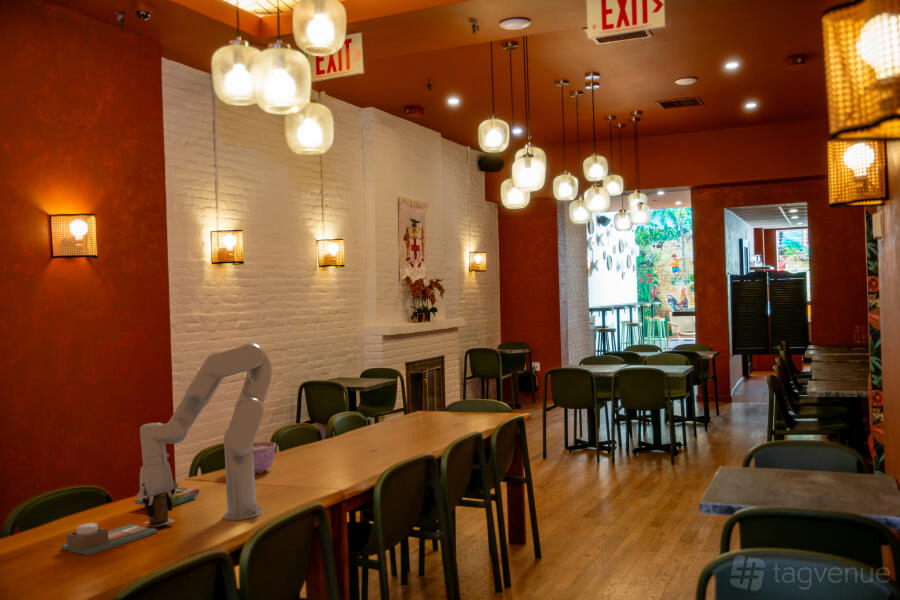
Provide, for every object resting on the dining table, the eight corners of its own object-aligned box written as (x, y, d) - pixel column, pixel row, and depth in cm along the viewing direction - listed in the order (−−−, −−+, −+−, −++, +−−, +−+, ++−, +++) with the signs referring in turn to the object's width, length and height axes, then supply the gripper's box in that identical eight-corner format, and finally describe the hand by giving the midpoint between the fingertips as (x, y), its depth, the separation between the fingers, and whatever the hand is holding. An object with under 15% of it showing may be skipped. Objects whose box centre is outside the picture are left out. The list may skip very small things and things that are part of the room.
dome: (102, 534, 237) (101, 524, 237) (83, 540, 232) (83, 529, 232) (91, 532, 240) (90, 522, 240) (72, 537, 235) (72, 527, 235)
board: (157, 533, 248) (156, 517, 248) (87, 555, 228) (86, 539, 228) (131, 527, 256) (130, 513, 256) (61, 549, 236) (60, 533, 236)
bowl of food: (221, 477, 327) (220, 450, 327) (244, 467, 346) (243, 441, 346) (264, 478, 322) (262, 450, 322) (285, 467, 341) (284, 441, 341)
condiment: (164, 517, 262) (160, 483, 262) (176, 521, 256) (172, 485, 256) (143, 523, 257) (140, 488, 256) (155, 527, 251) (151, 491, 251)
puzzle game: (198, 486, 292) (158, 500, 274) (199, 499, 292) (158, 513, 274) (176, 485, 297) (134, 498, 279) (176, 497, 297) (135, 511, 279)
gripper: (169, 453, 266) (174, 505, 266) (124, 465, 251) (130, 520, 251) (183, 454, 261) (188, 506, 262) (138, 466, 247) (144, 522, 247)
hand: (159, 512), depth 256 cm, fingers closed on condiment, 6 cm apart
